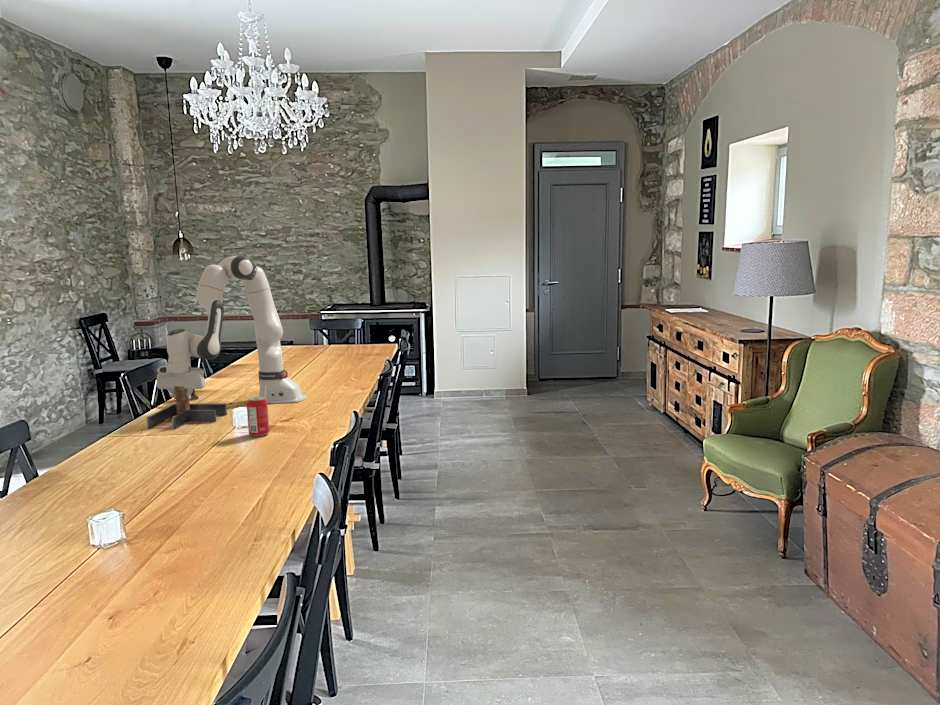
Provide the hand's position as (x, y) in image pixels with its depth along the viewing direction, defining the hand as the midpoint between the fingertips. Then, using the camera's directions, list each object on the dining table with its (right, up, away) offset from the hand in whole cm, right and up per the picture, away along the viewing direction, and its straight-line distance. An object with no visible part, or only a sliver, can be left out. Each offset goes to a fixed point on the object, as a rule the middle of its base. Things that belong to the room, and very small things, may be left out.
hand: (182, 398), depth 315 cm
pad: (-2, -11, -10) cm, 15 cm away
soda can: (+41, -13, -26) cm, 50 cm away
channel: (+4, -9, -4) cm, 11 cm away
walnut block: (0, -6, +1) cm, 6 cm away
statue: (-12, -3, +37) cm, 39 cm away
